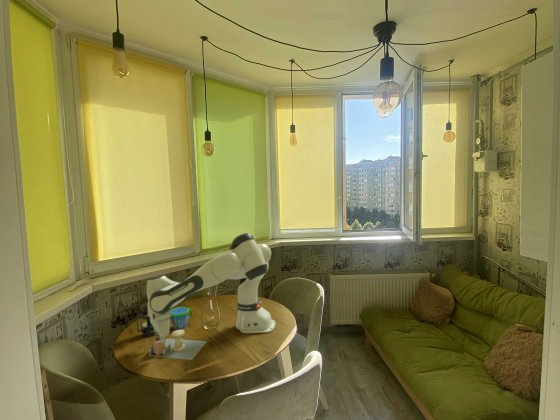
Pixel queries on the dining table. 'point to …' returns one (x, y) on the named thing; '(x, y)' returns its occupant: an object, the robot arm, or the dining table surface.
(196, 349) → the bobbin board
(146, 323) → the french press
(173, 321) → the snack cup
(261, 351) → the dining table surface
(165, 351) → the notch block
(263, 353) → the dining table surface
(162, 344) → the tab block
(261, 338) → the dining table surface
